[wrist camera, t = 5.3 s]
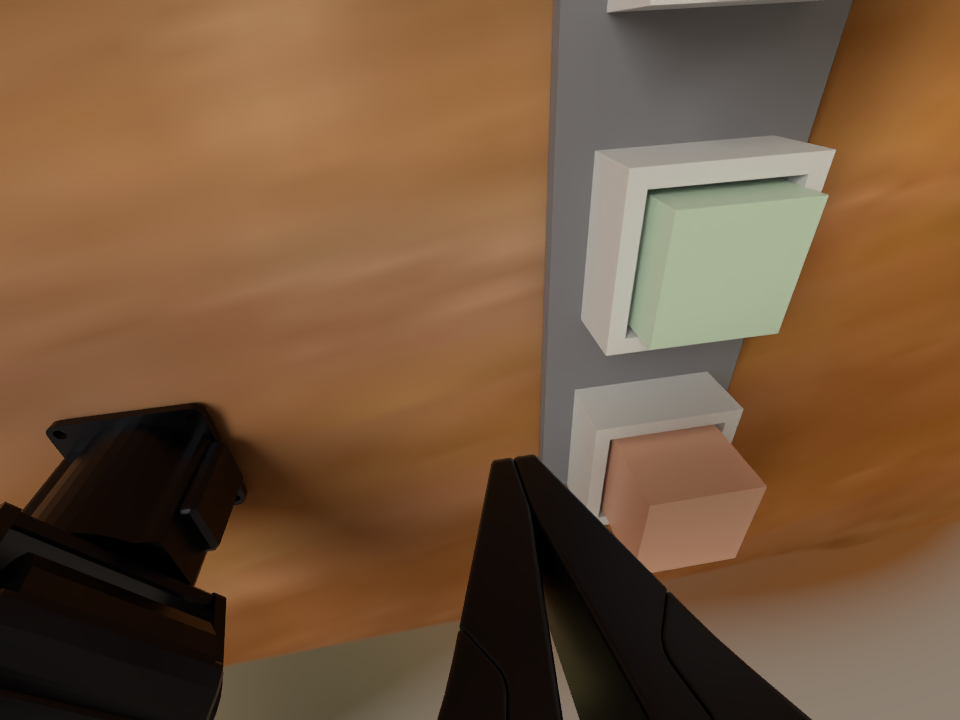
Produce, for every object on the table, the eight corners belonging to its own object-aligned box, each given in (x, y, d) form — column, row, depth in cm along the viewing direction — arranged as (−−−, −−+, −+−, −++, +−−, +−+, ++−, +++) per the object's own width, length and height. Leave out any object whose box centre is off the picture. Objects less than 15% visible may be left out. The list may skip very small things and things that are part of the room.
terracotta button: (600, 505, 24) (632, 576, 21) (611, 436, 22) (650, 505, 18) (690, 490, 25) (734, 557, 22) (712, 421, 22) (767, 486, 19)
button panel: (538, 477, 27) (556, 532, 24) (564, -348, 11) (631, -504, 8) (697, 453, 28) (734, 502, 25) (937, -340, 12) (1128, -476, 9)
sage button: (607, 300, 20) (649, 350, 17) (622, 179, 17) (675, 210, 14) (716, 287, 20) (778, 333, 17) (747, 167, 18) (828, 194, 14)
